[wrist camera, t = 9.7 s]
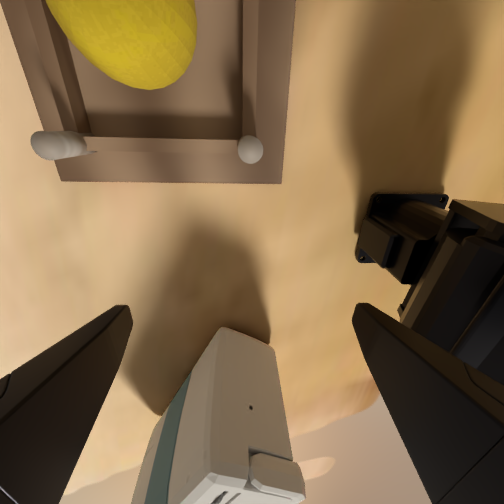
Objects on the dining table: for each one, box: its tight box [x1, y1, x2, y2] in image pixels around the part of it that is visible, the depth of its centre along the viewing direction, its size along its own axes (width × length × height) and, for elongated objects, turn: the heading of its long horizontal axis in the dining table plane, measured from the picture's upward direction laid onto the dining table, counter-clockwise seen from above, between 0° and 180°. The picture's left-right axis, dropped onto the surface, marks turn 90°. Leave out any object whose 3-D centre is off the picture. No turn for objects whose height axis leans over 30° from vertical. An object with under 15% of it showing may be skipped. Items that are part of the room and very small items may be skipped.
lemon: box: [46, 0, 197, 90], centre depth 10 cm, size 6×6×8 cm
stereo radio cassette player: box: [131, 327, 306, 504], centre depth 21 cm, size 21×8×20 cm, turn 151°
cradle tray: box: [0, 0, 296, 184], centre depth 12 cm, size 16×16×5 cm
